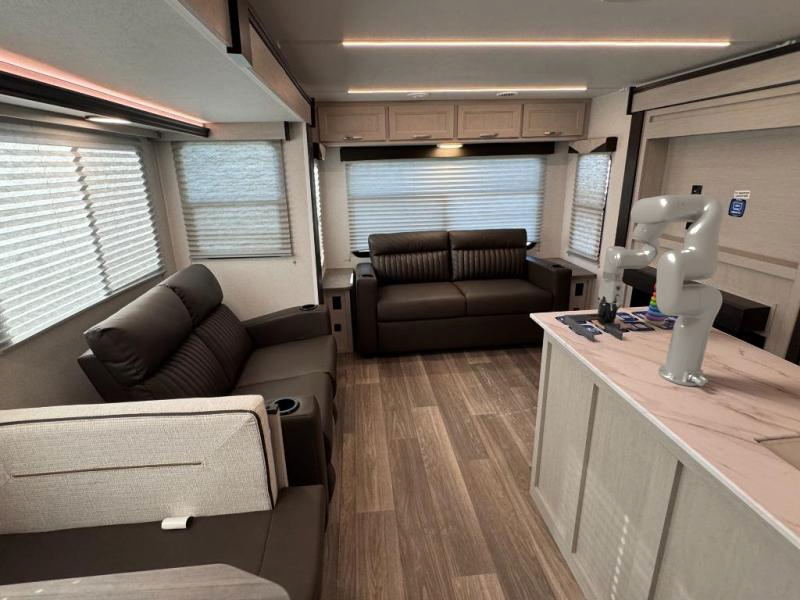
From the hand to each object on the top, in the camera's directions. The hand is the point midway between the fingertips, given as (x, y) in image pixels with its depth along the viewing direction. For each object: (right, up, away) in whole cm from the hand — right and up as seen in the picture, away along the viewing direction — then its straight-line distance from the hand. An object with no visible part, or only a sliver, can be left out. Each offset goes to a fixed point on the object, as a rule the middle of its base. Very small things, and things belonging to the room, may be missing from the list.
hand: (606, 315), depth 176 cm
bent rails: (-6, -6, -4) cm, 9 cm away
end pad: (+3, -4, +2) cm, 5 cm away
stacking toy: (+23, -4, +3) cm, 23 cm away
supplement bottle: (0, -3, +1) cm, 4 cm away
